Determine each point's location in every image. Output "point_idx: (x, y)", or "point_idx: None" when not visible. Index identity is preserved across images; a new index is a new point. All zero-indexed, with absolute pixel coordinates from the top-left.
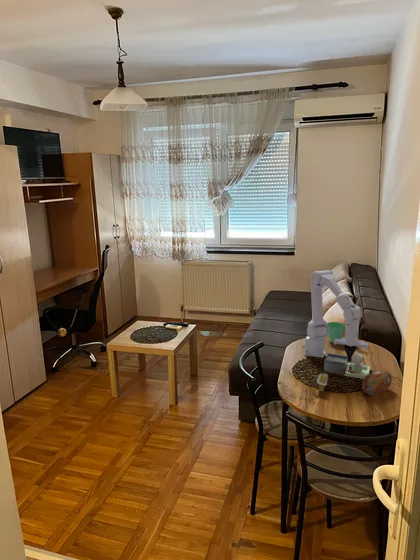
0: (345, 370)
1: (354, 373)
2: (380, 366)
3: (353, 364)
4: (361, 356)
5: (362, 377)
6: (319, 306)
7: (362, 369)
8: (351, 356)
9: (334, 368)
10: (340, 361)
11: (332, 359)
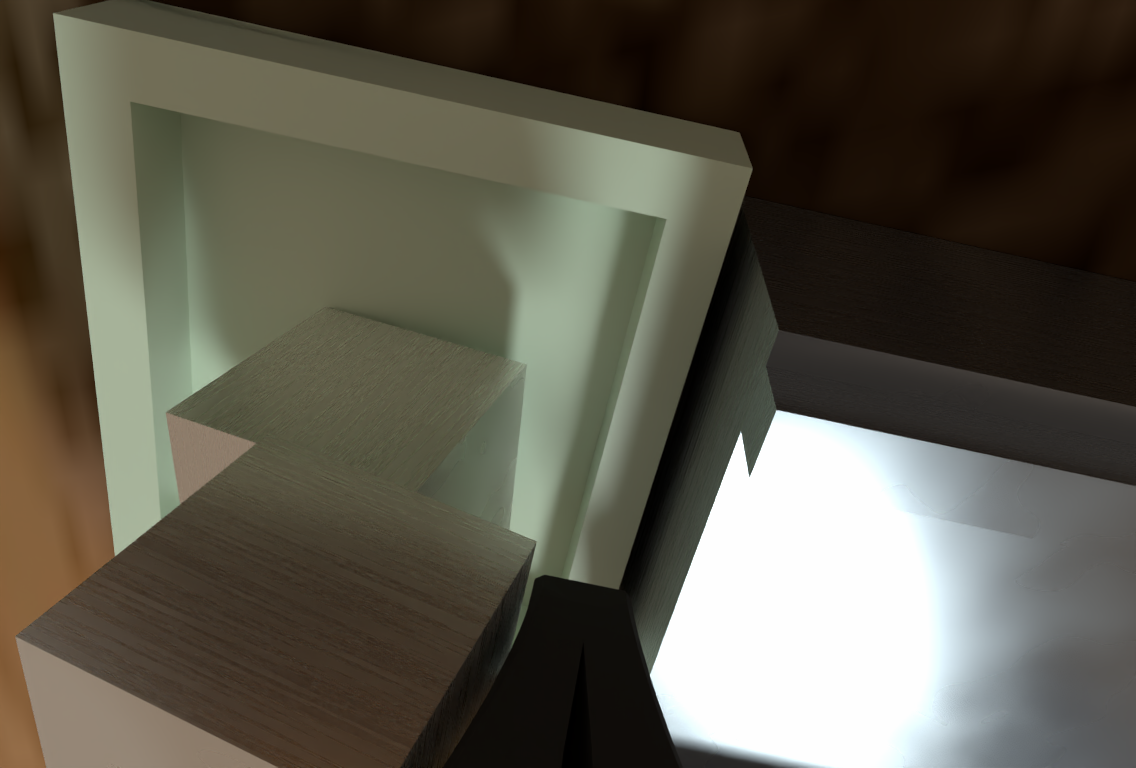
0: (703, 311)
1: (462, 155)
2: (20, 690)
3: None
4: (81, 717)
5: (248, 37)
6: None
7: None
8: (500, 715)
9: (1050, 317)
10: (927, 500)
11: (1074, 676)
